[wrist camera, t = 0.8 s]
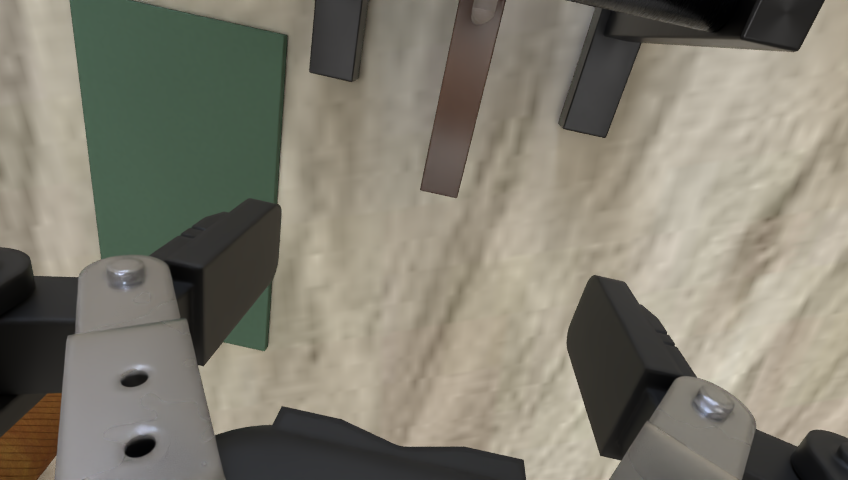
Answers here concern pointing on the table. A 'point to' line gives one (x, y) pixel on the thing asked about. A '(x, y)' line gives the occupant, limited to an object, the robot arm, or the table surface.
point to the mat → (177, 125)
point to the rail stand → (601, 42)
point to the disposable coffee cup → (31, 441)
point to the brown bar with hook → (461, 94)
